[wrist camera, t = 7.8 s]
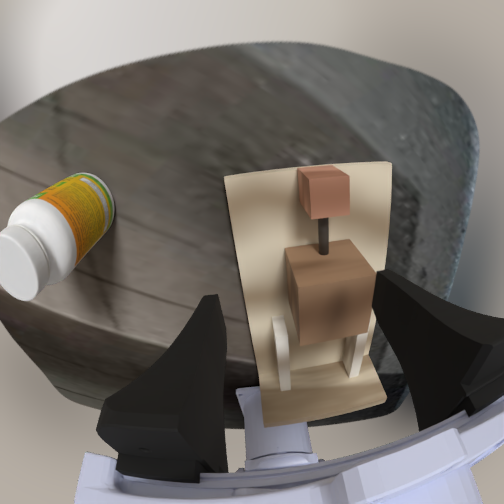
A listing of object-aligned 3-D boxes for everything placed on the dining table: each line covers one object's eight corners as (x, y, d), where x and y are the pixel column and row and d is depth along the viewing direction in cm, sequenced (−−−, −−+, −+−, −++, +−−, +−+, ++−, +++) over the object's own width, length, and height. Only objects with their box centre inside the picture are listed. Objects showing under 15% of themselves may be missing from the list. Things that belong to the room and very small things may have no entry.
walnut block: (346, 292, 23) (367, 332, 18) (288, 301, 23) (299, 346, 18) (349, 163, 18) (384, 182, 13) (277, 170, 18) (291, 190, 13)
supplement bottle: (85, 156, 17) (-4, 198, 8) (129, 208, 19) (64, 281, 10) (50, 202, 18) (-27, 260, 10) (90, 248, 20) (30, 325, 12)
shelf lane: (364, 354, 28) (384, 402, 22) (259, 374, 28) (264, 427, 22) (386, 161, 18) (442, 186, 12) (224, 176, 18) (218, 208, 12)
